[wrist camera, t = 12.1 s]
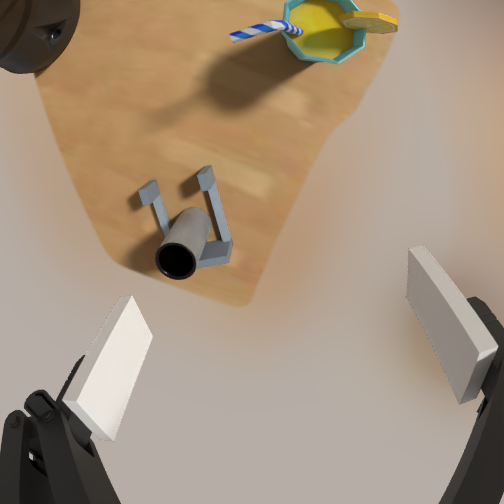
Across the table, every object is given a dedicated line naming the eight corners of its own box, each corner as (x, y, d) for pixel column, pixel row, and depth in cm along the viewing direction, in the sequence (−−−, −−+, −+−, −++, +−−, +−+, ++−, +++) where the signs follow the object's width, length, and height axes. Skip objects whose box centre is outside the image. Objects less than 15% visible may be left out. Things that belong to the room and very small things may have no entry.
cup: (253, 88, 34) (245, 84, 20) (233, 29, 30) (213, -7, 17) (367, 63, 31) (423, 50, 18) (348, 5, 28) (392, -36, 15)
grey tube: (171, 219, 42) (146, 256, 33) (197, 200, 40) (177, 234, 31) (192, 244, 43) (174, 287, 34) (218, 227, 42) (205, 267, 33)
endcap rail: (149, 181, 39) (134, 193, 35) (211, 165, 38) (203, 175, 34) (174, 255, 44) (164, 273, 40) (232, 244, 43) (229, 262, 39)
